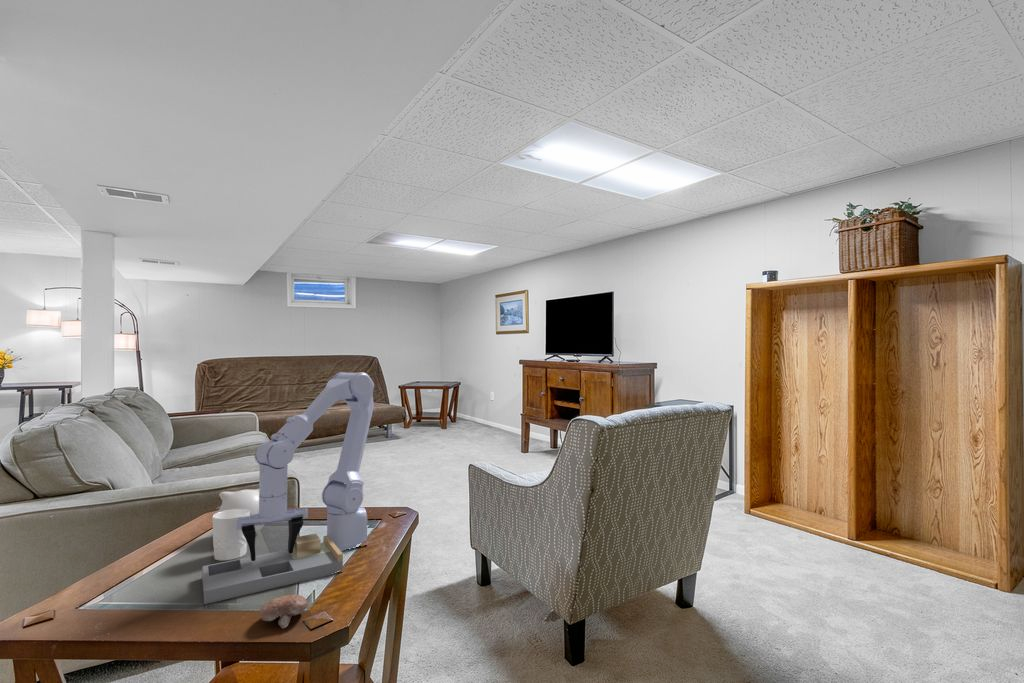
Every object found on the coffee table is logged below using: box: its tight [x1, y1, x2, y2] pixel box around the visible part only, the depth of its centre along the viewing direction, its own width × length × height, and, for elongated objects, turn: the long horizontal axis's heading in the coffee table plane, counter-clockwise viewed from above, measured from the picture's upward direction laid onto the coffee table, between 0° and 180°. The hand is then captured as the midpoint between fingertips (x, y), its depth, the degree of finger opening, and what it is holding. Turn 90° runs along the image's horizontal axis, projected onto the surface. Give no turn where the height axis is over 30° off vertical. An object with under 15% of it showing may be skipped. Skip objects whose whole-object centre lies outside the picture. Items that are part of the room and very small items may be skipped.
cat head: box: [216, 488, 266, 533], centre depth 131 cm, size 15×13×12 cm
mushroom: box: [259, 593, 309, 629], centre depth 88 cm, size 8×6×8 cm
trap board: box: [201, 534, 344, 605], centre depth 107 cm, size 26×14×4 cm, turn 124°
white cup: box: [211, 509, 250, 562], centre depth 118 cm, size 8×8×10 cm
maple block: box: [293, 533, 322, 558], centre depth 113 cm, size 5×5×3 cm
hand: (272, 555), depth 109 cm, fingers open, 7 cm apart
